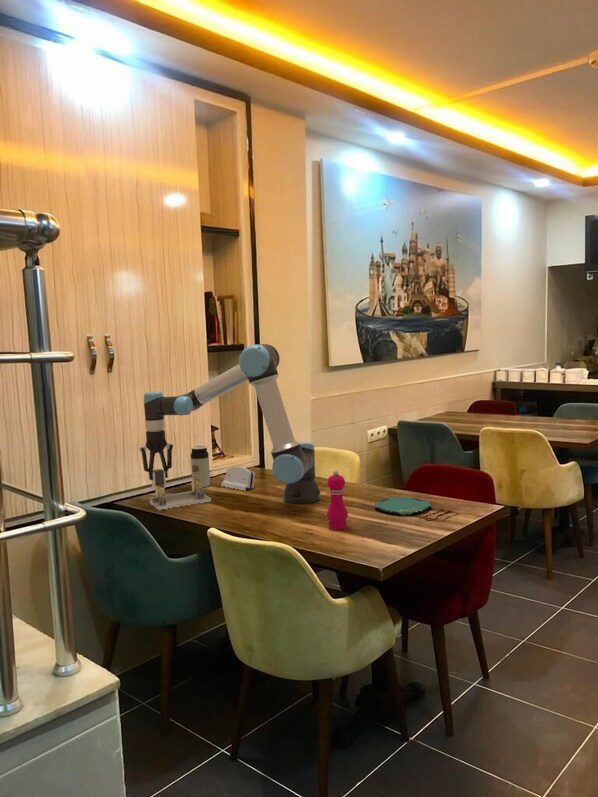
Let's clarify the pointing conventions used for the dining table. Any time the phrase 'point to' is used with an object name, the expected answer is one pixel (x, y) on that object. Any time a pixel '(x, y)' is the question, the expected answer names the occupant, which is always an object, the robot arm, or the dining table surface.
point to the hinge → (239, 478)
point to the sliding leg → (159, 482)
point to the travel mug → (200, 464)
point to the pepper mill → (336, 502)
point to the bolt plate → (181, 497)
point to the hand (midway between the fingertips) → (159, 486)
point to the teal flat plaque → (402, 505)
